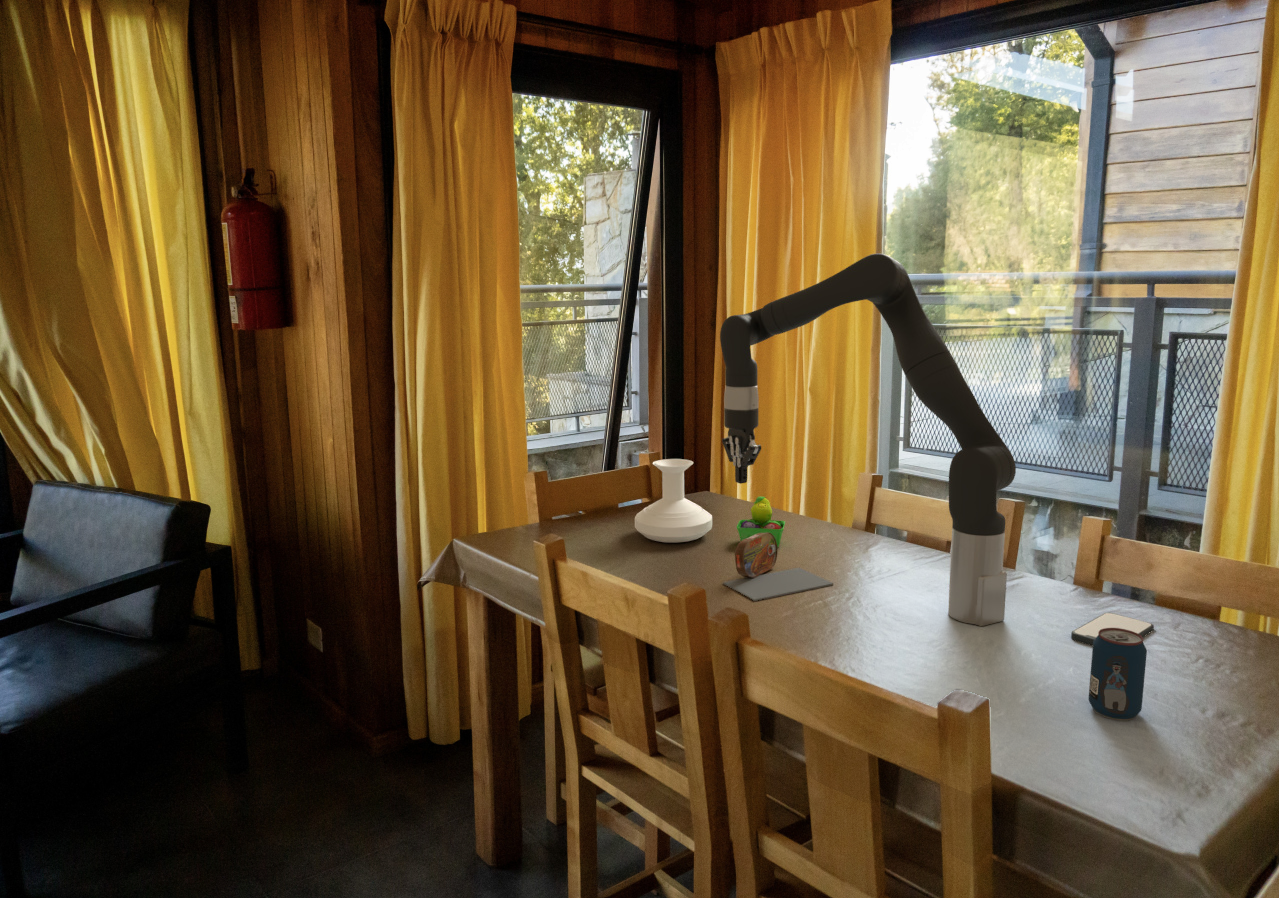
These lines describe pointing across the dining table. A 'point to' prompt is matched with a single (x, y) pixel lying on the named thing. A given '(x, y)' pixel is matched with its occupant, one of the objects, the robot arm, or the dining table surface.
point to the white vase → (673, 509)
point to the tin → (756, 555)
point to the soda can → (1117, 674)
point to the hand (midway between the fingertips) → (741, 482)
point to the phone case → (1109, 620)
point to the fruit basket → (761, 522)
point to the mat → (777, 584)
